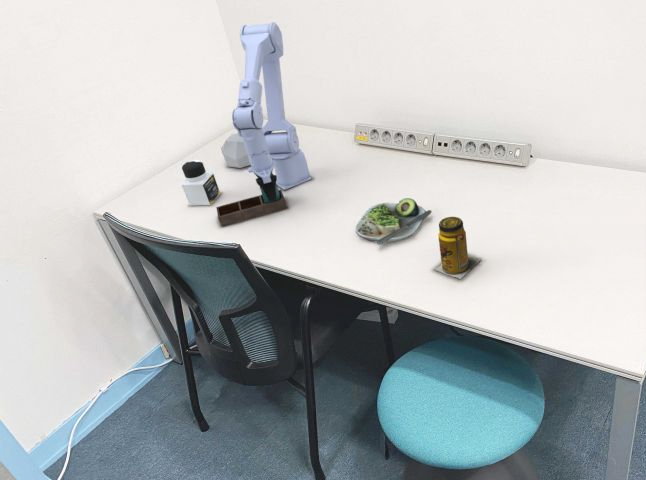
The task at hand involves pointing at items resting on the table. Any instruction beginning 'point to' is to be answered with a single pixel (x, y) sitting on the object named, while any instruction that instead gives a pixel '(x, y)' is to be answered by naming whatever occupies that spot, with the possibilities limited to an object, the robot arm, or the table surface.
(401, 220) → the salad plate
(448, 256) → the condiment
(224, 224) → the rack
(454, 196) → the table surface
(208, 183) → the medicine bottle
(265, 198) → the jar
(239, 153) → the rock
